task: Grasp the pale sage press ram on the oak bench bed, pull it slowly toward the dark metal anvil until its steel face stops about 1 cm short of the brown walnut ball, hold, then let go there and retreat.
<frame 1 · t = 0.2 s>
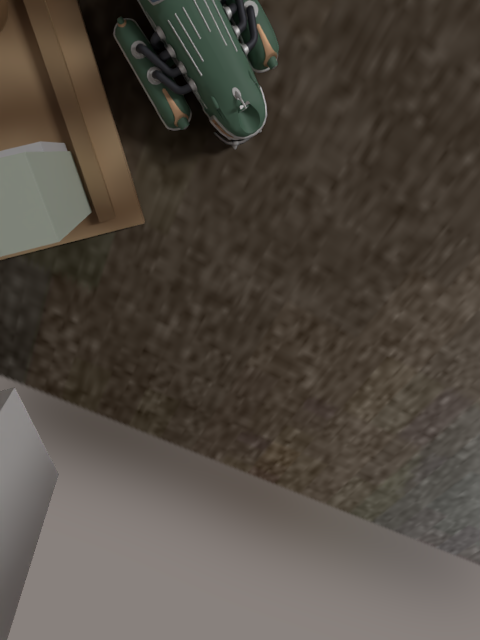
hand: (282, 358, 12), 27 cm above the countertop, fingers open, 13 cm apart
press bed: (20, 103, 32), on the countertop
ram: (23, 193, 27), point 7 cm above the countertop, slide at 0.0 cm
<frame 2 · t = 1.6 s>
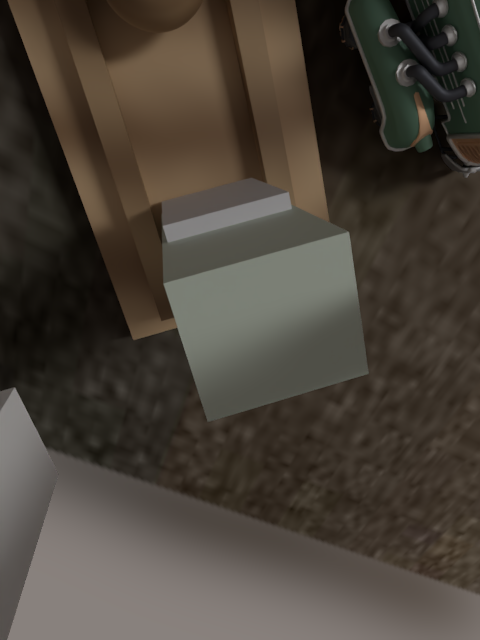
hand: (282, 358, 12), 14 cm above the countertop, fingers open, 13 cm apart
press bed: (187, 121, 22), on the countertop
ram: (237, 266, 18), point 7 cm above the countertop, slide at 0.0 cm
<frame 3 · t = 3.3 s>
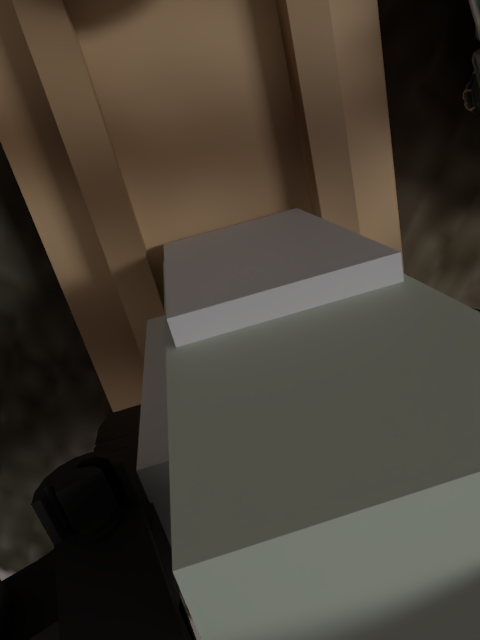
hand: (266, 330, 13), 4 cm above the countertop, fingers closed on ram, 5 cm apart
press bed: (201, 125, 15), on the countertop
ram: (293, 369, 10), point 7 cm above the countertop, slide at 0.0 cm, touching gripper
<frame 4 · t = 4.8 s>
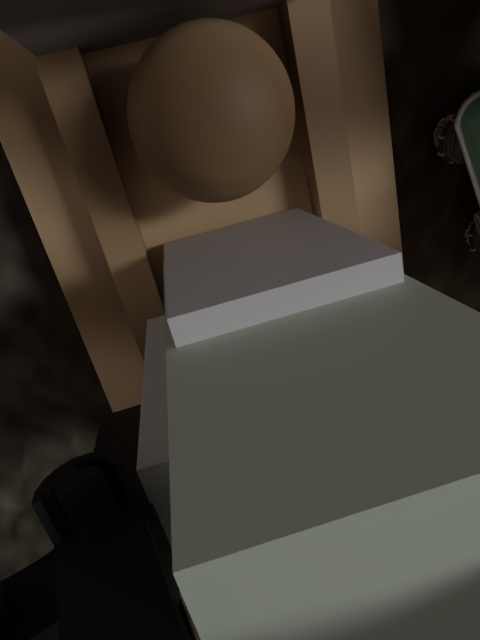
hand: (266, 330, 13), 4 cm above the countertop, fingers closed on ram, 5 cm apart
walnut: (204, 122, 14), point 1 cm above the countertop, touching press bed
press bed: (239, 276, 17), on the countertop
ram: (293, 370, 10), point 7 cm above the countertop, slide at 5.5 cm, touching gripper
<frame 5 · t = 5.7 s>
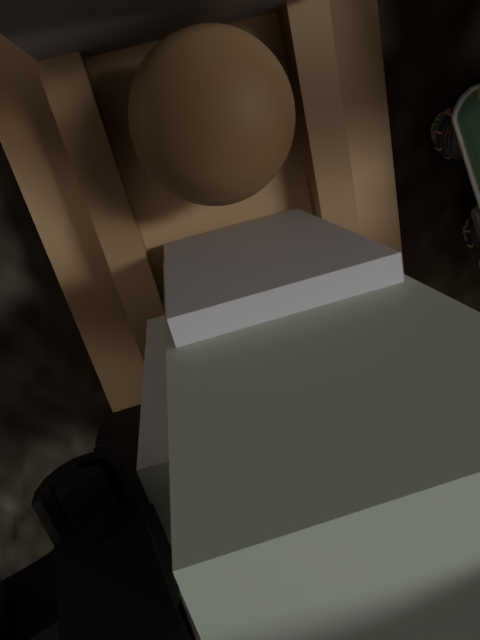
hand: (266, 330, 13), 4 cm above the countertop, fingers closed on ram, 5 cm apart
walnut: (204, 125, 14), point 1 cm above the countertop, touching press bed
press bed: (239, 279, 17), on the countertop
ram: (293, 370, 10), point 7 cm above the countertop, slide at 5.5 cm, touching gripper
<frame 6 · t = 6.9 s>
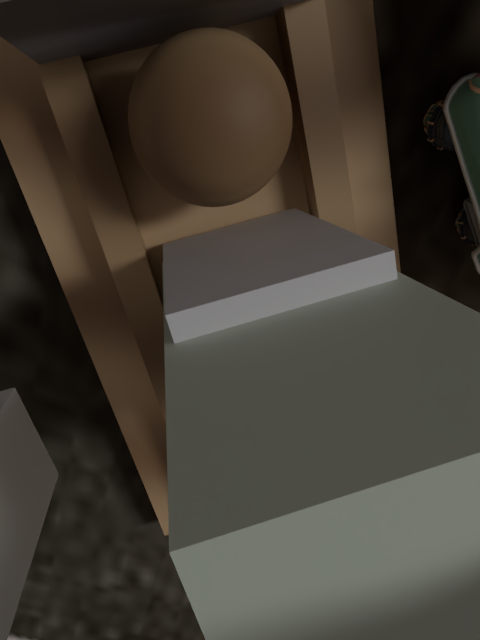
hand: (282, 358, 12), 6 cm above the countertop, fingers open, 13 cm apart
walnut: (203, 127, 14), point 1 cm above the countertop, touching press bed
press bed: (238, 279, 17), on the countertop
ram: (289, 366, 11), point 7 cm above the countertop, slide at 5.6 cm
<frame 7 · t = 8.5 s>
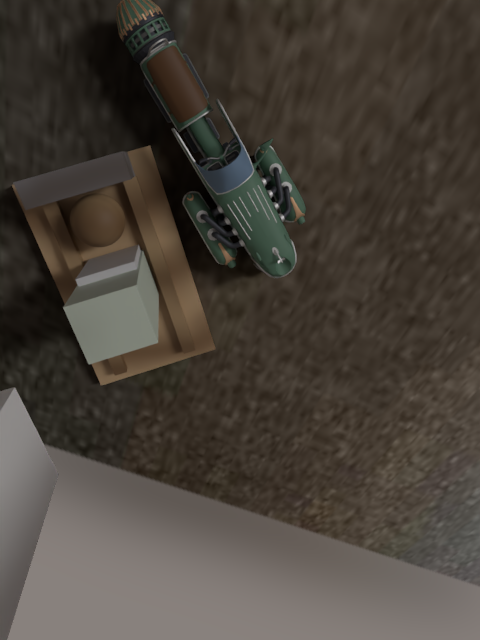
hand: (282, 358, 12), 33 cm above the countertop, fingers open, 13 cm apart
walnut: (101, 217, 40), point 1 cm above the countertop, touching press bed
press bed: (124, 272, 43), on the countertop
ram: (118, 295, 36), point 7 cm above the countertop, slide at 5.6 cm
hoverbike: (209, 151, 41), on the countertop
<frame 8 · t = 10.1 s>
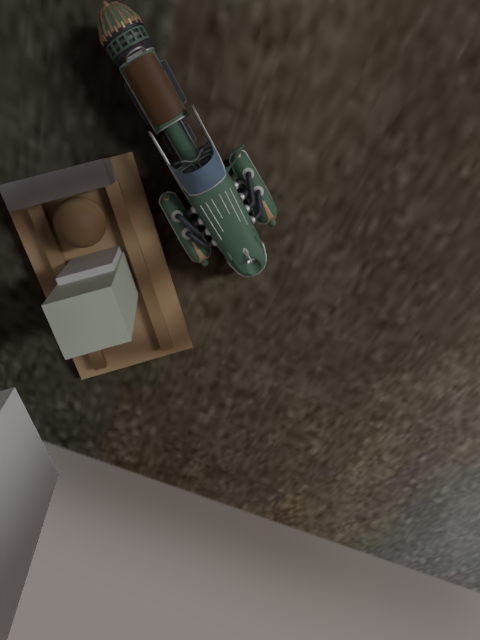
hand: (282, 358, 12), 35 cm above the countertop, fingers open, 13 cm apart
walnut: (84, 219, 41), point 1 cm above the countertop, touching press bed
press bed: (106, 271, 45), on the countertop
ram: (96, 295, 38), point 7 cm above the countertop, slide at 5.6 cm
hoverbike: (186, 153, 42), on the countertop
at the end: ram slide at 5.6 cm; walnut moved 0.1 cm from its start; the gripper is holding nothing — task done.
